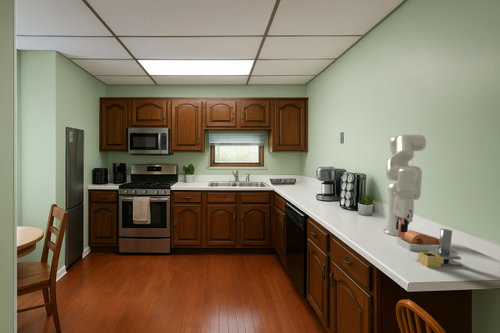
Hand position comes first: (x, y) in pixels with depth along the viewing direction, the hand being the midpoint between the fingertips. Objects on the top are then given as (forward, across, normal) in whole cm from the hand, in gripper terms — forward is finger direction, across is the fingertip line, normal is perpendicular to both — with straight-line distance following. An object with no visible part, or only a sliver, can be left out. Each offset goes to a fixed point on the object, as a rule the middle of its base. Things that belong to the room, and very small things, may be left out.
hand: (401, 230), depth 137 cm
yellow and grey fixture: (+12, +9, +12) cm, 19 cm away
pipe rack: (+13, -11, +20) cm, 26 cm away
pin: (+3, 0, 0) cm, 3 cm away
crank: (+13, -12, +21) cm, 28 cm away
